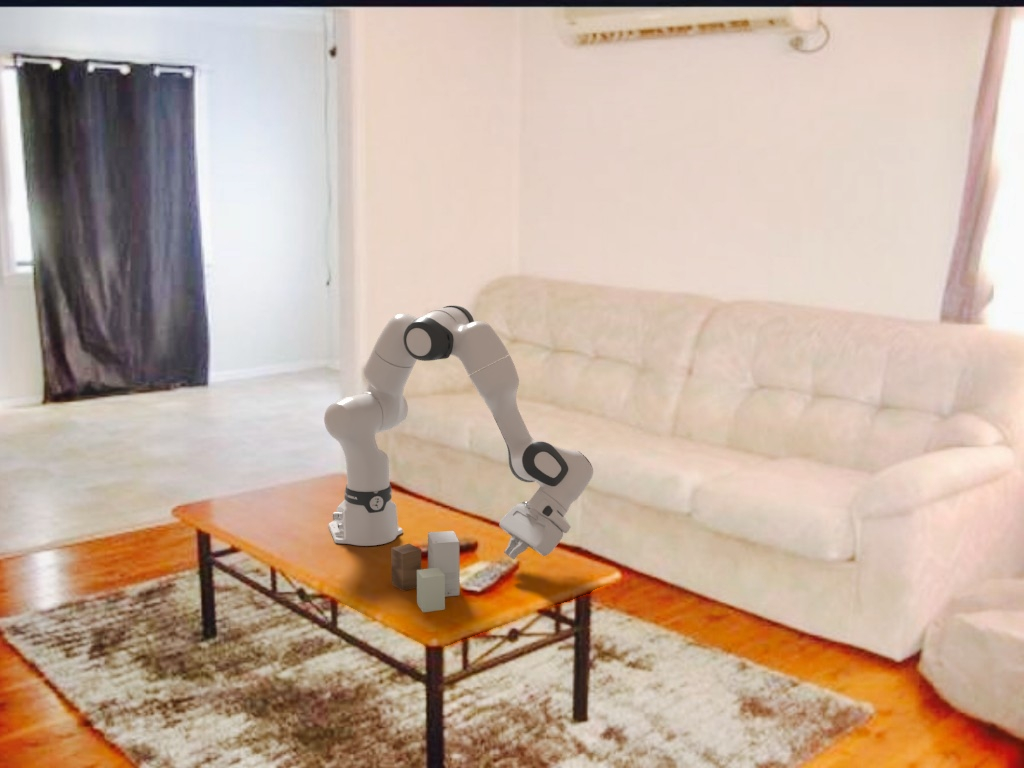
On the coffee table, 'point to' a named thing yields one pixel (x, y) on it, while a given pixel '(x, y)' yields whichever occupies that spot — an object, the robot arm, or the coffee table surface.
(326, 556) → the coffee table surface
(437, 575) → the sage block
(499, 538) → the coffee table surface
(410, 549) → the walnut block
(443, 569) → the small box
